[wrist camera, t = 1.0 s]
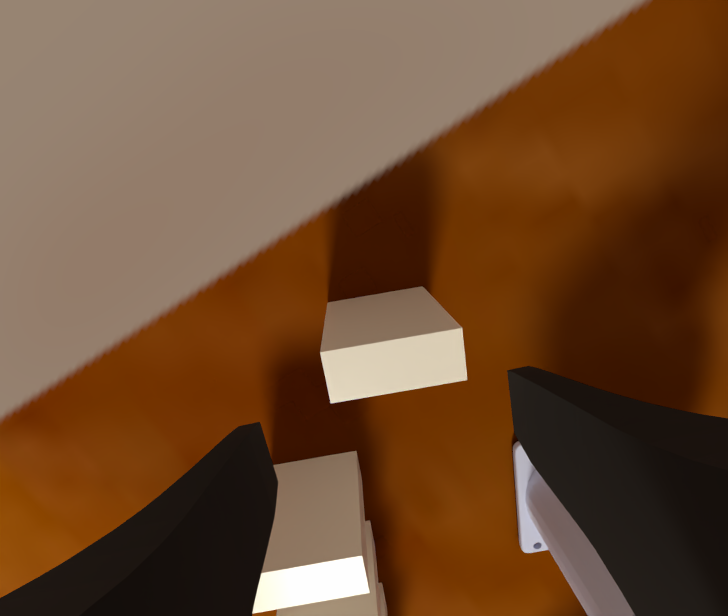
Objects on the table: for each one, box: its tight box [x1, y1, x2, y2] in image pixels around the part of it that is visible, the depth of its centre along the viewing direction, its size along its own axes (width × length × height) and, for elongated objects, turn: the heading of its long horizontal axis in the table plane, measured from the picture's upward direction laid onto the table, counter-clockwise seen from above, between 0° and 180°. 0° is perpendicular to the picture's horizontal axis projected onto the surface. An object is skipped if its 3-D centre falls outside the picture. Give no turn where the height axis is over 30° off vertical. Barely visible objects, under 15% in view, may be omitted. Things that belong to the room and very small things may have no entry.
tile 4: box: [252, 451, 370, 614], centre depth 20 cm, size 5×2×7 cm, turn 99°
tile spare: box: [320, 286, 467, 403], centre depth 17 cm, size 5×2×7 cm, turn 99°
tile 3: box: [276, 520, 381, 616], centre depth 21 cm, size 5×2×7 cm, turn 99°
